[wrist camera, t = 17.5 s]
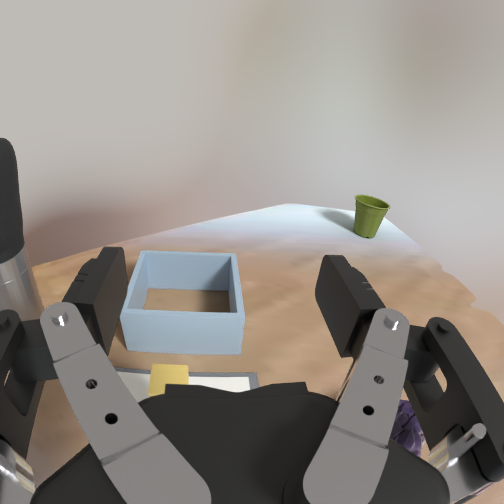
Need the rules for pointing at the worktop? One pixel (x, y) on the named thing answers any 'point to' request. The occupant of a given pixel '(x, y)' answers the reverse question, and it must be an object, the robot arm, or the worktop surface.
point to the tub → (179, 322)
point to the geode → (407, 429)
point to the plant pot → (369, 215)
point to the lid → (176, 381)
